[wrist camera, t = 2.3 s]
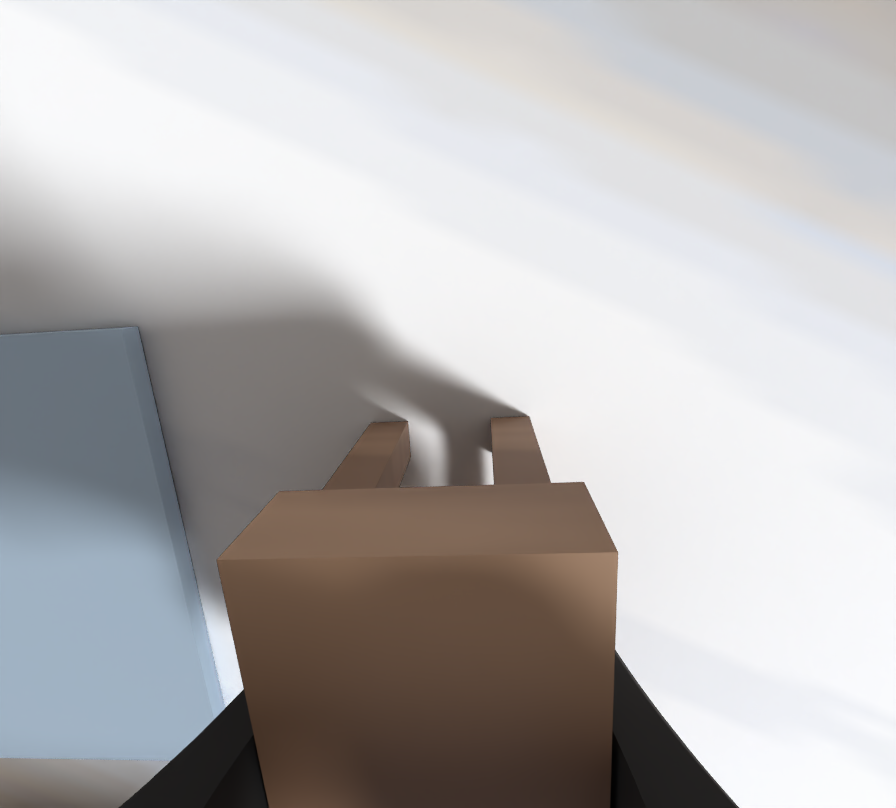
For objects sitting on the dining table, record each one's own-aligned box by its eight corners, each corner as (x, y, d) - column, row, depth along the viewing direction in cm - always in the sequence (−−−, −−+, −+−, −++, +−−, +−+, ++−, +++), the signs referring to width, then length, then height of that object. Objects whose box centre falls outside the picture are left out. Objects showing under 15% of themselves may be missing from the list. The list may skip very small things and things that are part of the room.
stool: (547, 684, 15) (603, 1027, 8) (386, 684, 15) (311, 1010, 9) (544, 400, 13) (618, 552, 6) (354, 408, 13) (216, 559, 6)
